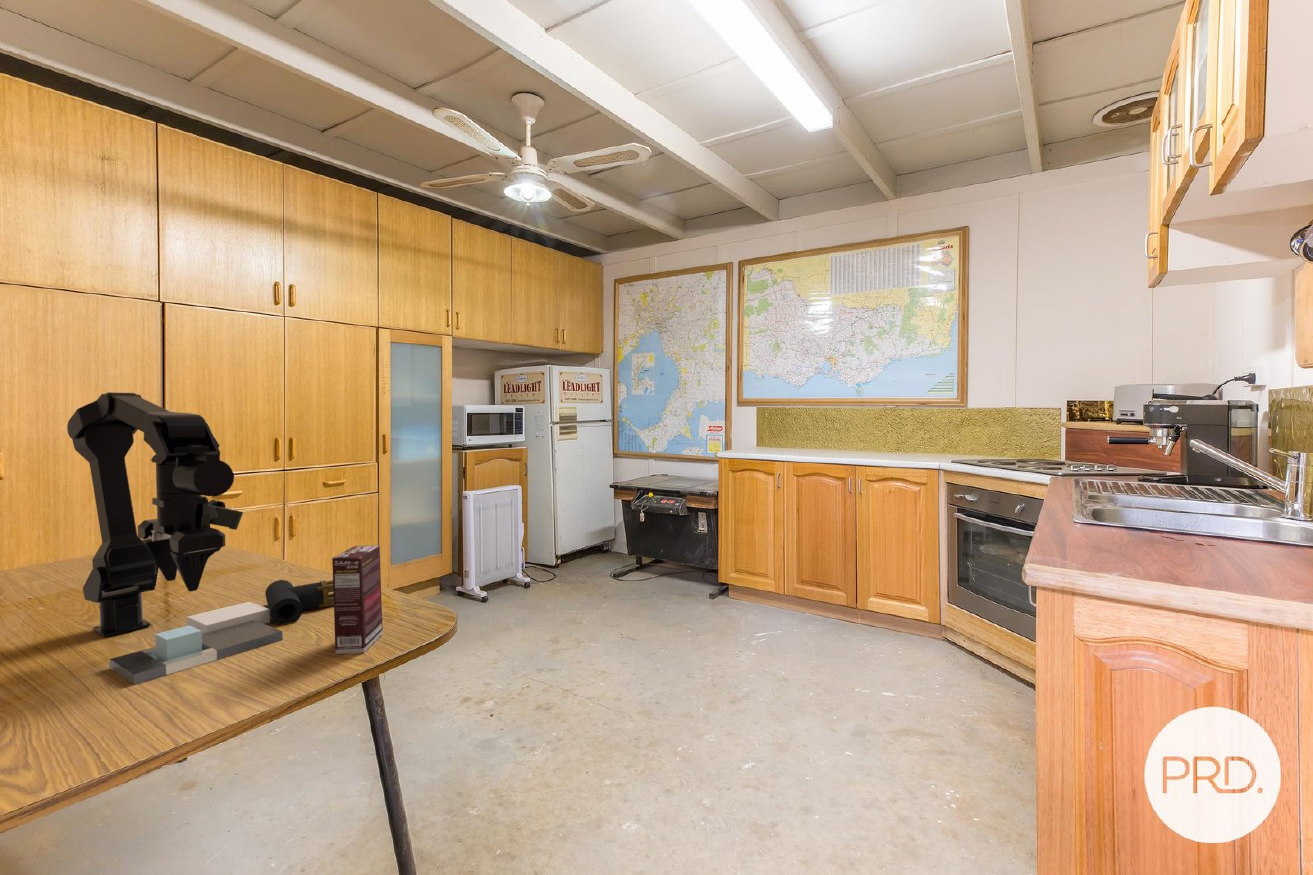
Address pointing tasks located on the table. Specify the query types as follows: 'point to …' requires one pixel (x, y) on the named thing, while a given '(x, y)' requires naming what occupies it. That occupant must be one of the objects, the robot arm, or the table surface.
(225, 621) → the stand
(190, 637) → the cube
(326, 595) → the pipe connector
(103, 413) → the robot arm
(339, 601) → the supplement box
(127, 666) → the plate
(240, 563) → the table surface
